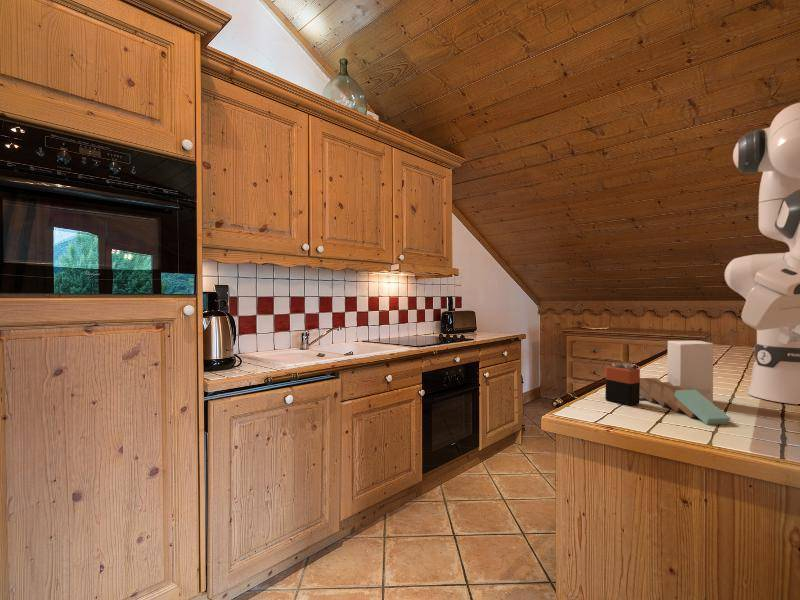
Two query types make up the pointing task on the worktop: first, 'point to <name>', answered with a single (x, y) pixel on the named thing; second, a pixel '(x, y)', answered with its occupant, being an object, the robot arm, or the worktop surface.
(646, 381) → the domino
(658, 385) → the domino
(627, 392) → the battery
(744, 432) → the worktop surface
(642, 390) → the domino
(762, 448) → the worktop surface
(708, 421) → the domino end
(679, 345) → the skincare box
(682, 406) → the domino
